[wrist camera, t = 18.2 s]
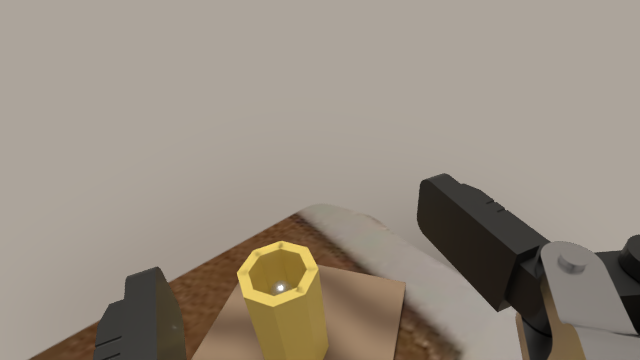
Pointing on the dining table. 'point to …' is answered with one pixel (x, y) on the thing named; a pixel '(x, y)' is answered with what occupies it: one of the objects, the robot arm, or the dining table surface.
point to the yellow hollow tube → (285, 302)
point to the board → (340, 316)
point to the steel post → (280, 287)
